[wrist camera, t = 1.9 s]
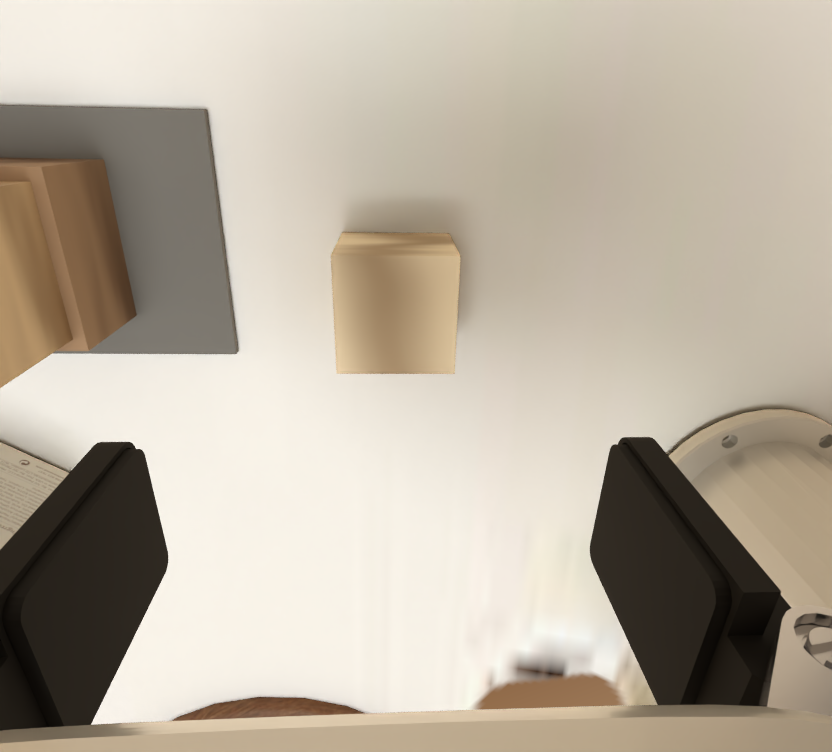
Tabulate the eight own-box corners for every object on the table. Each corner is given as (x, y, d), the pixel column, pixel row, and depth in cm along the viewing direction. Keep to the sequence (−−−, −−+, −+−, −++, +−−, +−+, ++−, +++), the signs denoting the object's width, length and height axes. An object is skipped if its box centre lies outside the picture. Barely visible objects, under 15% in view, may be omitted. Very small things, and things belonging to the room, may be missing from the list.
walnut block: (103, 159, 23) (41, 166, 19) (137, 315, 26) (88, 350, 22) (-66, 156, 23) (-167, 163, 19) (-13, 314, 26) (-90, 350, 22)
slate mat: (206, 109, 23) (203, 109, 22) (238, 351, 27) (236, 353, 27) (-190, 101, 22) (-199, 100, 22) (-88, 349, 27) (-95, 352, 26)
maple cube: (448, 233, 25) (460, 256, 21) (444, 332, 27) (454, 373, 23) (342, 231, 25) (330, 255, 21) (346, 332, 27) (336, 373, 23)
